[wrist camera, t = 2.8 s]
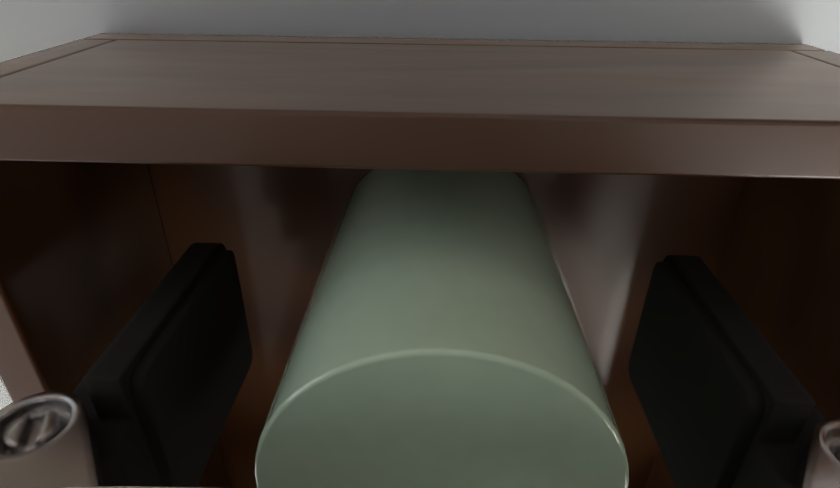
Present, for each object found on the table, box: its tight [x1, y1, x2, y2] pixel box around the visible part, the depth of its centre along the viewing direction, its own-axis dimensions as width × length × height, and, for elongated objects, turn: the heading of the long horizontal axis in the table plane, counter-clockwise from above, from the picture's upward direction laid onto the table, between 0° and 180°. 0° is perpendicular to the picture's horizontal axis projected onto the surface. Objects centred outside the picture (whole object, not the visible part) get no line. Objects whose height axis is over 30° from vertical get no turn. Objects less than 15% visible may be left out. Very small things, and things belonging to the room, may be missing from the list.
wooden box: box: [0, 33, 840, 488], centre depth 14 cm, size 17×16×6 cm
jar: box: [254, 169, 629, 488], centre depth 11 cm, size 5×5×7 cm
